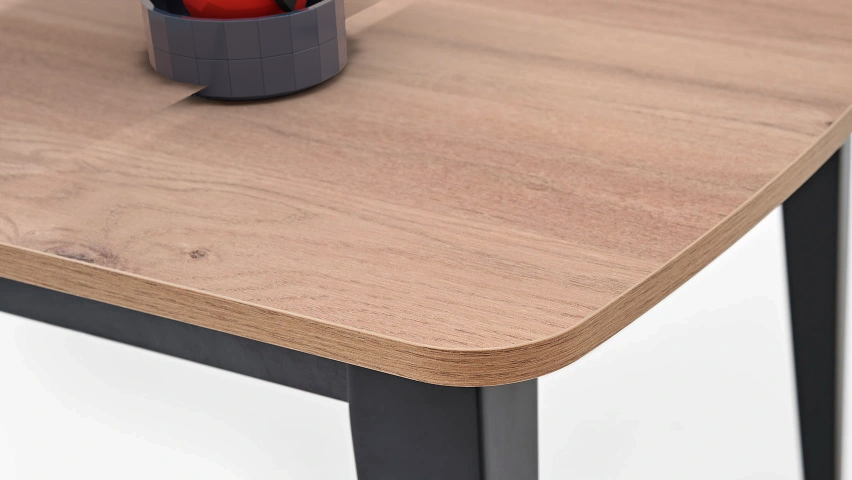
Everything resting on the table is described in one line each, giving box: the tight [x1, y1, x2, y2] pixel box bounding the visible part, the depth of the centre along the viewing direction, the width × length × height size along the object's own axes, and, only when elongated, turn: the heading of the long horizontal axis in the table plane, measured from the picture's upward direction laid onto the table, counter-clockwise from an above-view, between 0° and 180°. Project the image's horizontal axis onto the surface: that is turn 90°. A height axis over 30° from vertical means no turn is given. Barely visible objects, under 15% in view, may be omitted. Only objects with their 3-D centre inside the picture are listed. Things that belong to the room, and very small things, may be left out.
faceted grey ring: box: [140, 0, 348, 101], centre depth 88 cm, size 14×14×6 cm
